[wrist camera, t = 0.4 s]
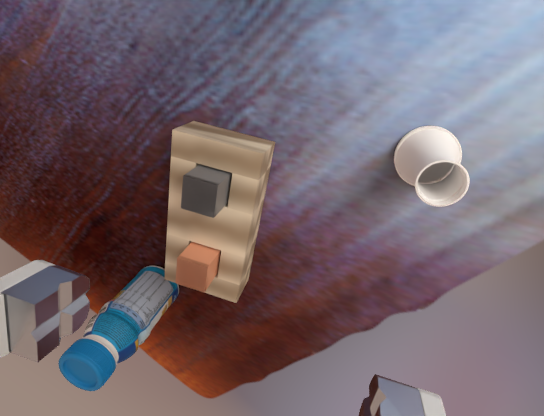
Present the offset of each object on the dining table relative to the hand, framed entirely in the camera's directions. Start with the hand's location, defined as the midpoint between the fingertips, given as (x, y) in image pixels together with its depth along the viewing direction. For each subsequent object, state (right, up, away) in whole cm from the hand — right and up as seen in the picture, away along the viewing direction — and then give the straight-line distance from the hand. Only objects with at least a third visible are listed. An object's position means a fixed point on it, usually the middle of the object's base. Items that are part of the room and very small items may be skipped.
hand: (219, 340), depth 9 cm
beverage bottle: (-19, -10, +53) cm, 58 cm away
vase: (+21, +10, +33) cm, 40 cm away
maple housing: (-6, +4, +43) cm, 44 cm away
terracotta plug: (-8, -3, +42) cm, 43 cm away
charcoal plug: (-6, +7, +37) cm, 38 cm away
